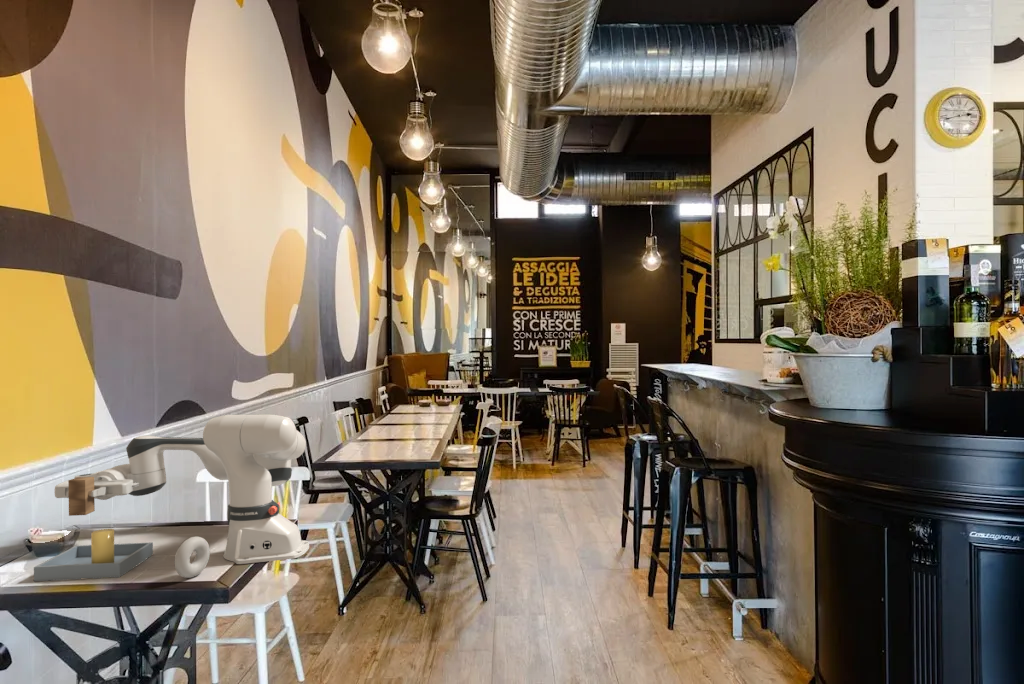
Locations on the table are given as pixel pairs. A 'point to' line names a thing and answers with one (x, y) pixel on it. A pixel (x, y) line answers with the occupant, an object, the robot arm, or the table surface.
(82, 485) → the walnut block
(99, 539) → the mustard cylinder
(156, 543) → the table surface
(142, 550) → the tray
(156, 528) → the table surface
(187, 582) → the table surface
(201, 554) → the donut
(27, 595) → the table surface
